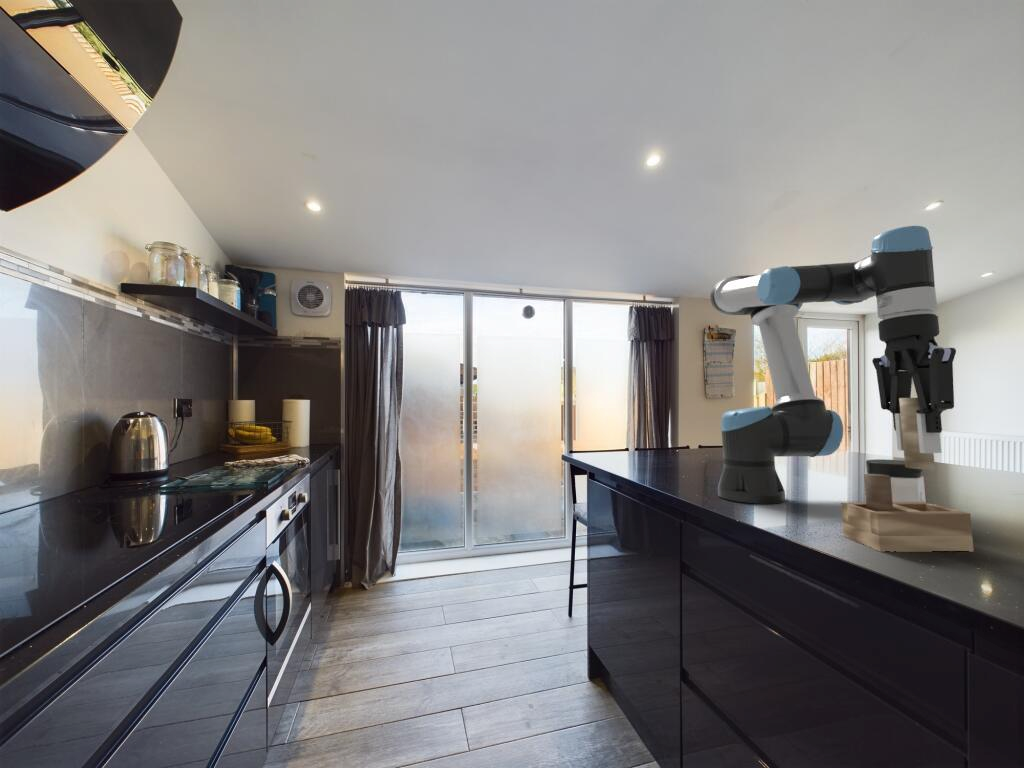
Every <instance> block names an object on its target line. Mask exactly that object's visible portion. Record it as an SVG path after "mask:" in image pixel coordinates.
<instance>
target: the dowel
mask: <svg viewBox="0 0 1024 768" xmlns="http://www.w3.org/2000/svg"><path fill="white" fill-rule="evenodd" d="M899 402H900V414H901V425H902V437H903V448H904V450H903V458H904V459H903V461H905V467H907V468H914V469H922V470H935V469H936V468H935V467H936V466H935V455H934V454H935V453H920V449H919V438H918V427H917V416H916V414H924V413H917V411H916V410H921V409H920V405H919V401H918V397H911V398H899Z"/></svg>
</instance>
